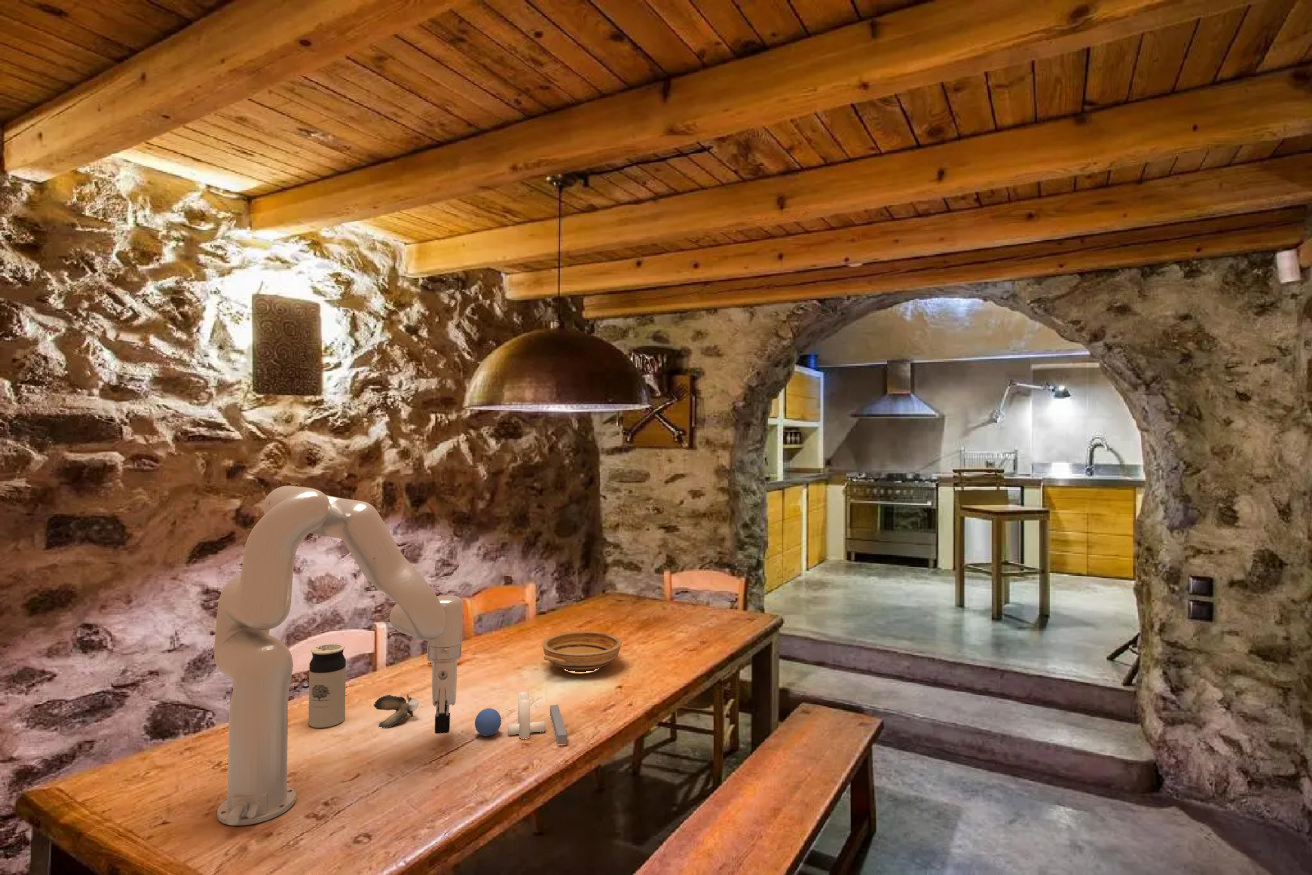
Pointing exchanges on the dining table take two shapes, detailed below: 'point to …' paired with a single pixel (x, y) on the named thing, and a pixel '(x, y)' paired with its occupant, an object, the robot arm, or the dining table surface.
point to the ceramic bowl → (581, 650)
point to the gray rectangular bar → (558, 724)
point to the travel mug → (327, 686)
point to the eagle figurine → (396, 708)
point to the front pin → (534, 727)
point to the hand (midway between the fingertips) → (442, 731)
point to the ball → (488, 722)
